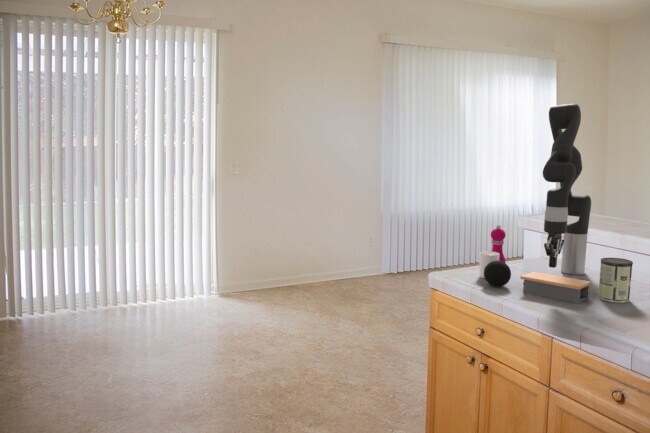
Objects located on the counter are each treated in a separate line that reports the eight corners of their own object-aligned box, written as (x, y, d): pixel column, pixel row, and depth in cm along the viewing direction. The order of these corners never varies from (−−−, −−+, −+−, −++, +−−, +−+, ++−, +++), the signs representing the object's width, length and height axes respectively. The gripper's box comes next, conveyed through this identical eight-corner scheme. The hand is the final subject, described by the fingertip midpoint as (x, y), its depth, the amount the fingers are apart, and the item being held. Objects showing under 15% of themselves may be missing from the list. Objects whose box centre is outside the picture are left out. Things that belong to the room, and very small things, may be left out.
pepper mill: (505, 274, 247) (508, 226, 244) (487, 273, 248) (490, 226, 245) (504, 270, 254) (506, 224, 251) (486, 269, 255) (489, 223, 252)
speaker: (495, 281, 235) (497, 257, 233) (515, 287, 226) (517, 262, 225) (477, 284, 229) (478, 259, 228) (497, 291, 221) (498, 264, 219)
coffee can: (608, 293, 220) (611, 256, 218) (635, 300, 211) (639, 261, 209) (591, 297, 215) (594, 259, 212) (618, 304, 206) (622, 264, 204)
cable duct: (534, 287, 227) (535, 274, 226) (588, 297, 214) (589, 284, 213) (523, 292, 220) (524, 279, 219) (578, 303, 207) (579, 289, 206)
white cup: (494, 274, 246) (496, 251, 244) (500, 279, 238) (502, 255, 237) (475, 274, 246) (477, 251, 244) (481, 279, 238) (482, 255, 236)
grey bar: (524, 285, 226) (525, 279, 225) (587, 297, 210) (588, 291, 210) (521, 286, 224) (522, 280, 223) (585, 299, 209) (586, 292, 208)
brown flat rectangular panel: (533, 274, 227) (533, 271, 227) (590, 284, 213) (591, 281, 213) (520, 278, 218) (520, 276, 218) (579, 289, 204) (579, 286, 204)
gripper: (552, 215, 216) (549, 262, 219) (537, 220, 206) (534, 268, 209) (573, 218, 211) (570, 265, 214) (559, 222, 201) (556, 272, 204)
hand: (552, 267), depth 211 cm, fingers closed
